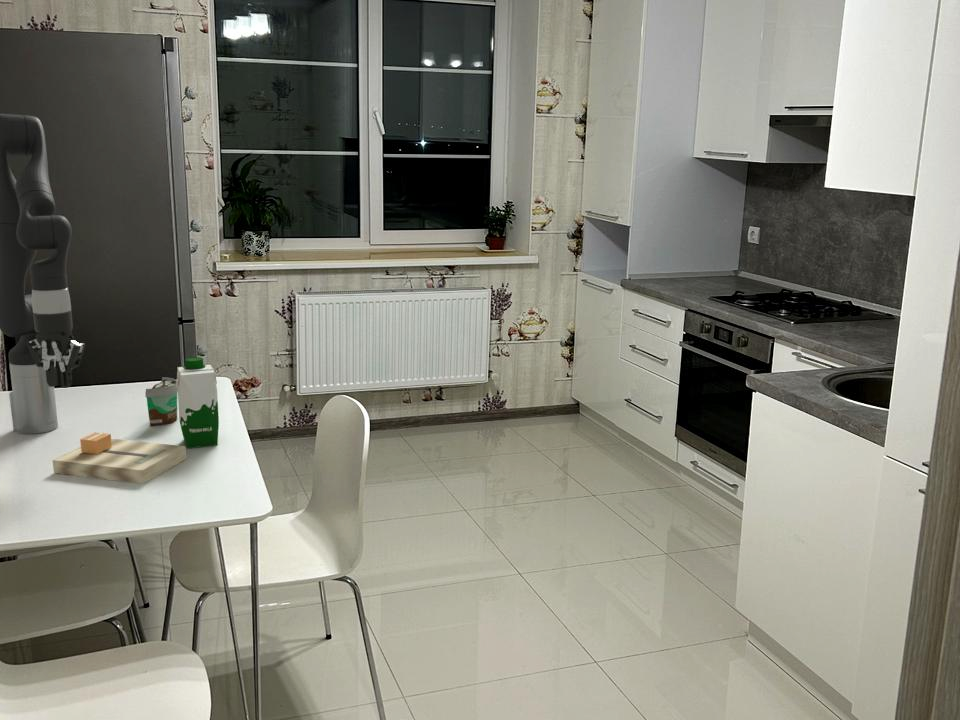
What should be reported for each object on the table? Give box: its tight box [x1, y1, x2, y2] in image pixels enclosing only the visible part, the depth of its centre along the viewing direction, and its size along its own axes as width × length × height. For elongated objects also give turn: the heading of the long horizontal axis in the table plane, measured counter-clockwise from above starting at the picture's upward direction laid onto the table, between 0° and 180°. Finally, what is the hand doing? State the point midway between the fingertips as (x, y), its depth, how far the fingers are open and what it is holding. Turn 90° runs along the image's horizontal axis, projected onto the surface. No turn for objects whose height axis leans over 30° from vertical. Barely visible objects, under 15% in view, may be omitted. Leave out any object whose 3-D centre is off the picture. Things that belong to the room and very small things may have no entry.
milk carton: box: [176, 356, 220, 449], centre depth 214 cm, size 9×9×20 cm
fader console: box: [52, 438, 187, 485], centre depth 200 cm, size 22×16×3 cm
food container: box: [144, 376, 178, 427], centre depth 232 cm, size 12×6×10 cm, turn 179°
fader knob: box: [80, 432, 112, 454], centre depth 201 cm, size 4×5×3 cm
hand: (59, 386), depth 200 cm, fingers open, 3 cm apart
